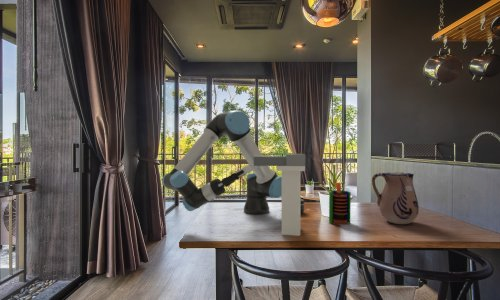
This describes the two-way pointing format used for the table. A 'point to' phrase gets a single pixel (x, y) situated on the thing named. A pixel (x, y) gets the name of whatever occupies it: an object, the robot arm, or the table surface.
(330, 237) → the table surface
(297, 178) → the stand
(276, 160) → the bar
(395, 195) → the ceramic pitcher
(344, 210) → the motor
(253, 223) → the table surface
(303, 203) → the jar
